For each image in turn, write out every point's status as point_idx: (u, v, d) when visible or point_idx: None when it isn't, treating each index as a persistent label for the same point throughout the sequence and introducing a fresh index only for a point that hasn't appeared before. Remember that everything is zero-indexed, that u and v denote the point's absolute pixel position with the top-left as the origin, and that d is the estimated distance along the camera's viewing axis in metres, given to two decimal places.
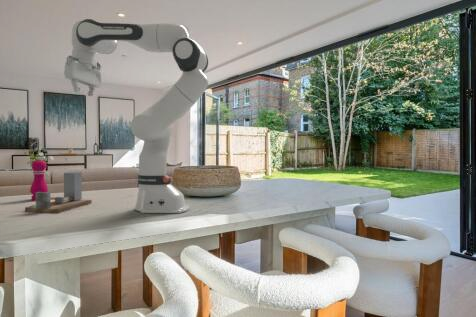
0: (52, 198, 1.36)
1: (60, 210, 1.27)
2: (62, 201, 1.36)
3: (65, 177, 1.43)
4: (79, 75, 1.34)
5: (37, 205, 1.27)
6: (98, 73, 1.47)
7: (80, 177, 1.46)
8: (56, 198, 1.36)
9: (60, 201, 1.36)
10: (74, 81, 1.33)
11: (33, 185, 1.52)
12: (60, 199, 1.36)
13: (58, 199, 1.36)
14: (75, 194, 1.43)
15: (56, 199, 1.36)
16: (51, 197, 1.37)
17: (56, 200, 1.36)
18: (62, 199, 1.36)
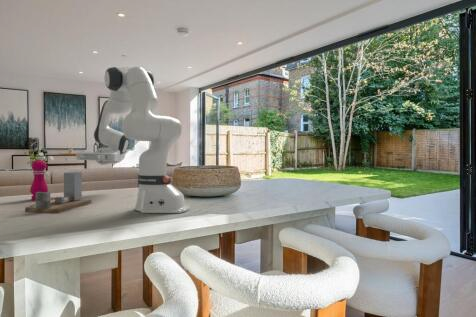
0: (52, 198, 1.36)
1: (60, 210, 1.27)
2: (62, 201, 1.36)
3: (65, 177, 1.43)
4: None
5: (37, 205, 1.27)
6: (114, 152, 1.66)
7: (80, 177, 1.46)
8: (56, 198, 1.36)
9: (60, 201, 1.36)
10: None
11: (33, 185, 1.52)
12: (60, 199, 1.36)
13: (58, 199, 1.36)
14: (75, 194, 1.43)
15: (56, 199, 1.36)
16: (51, 197, 1.37)
17: (56, 200, 1.36)
18: (62, 199, 1.36)
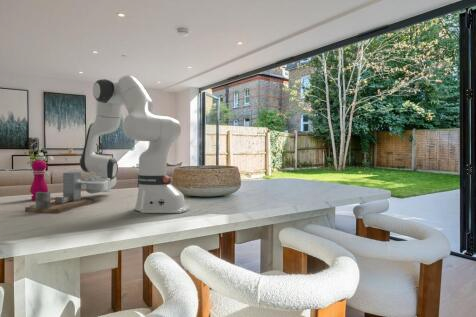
0: (52, 198, 1.36)
1: (60, 210, 1.27)
2: (62, 201, 1.36)
3: (64, 177, 1.42)
4: None
5: (37, 205, 1.27)
6: (104, 180, 1.56)
7: (79, 177, 1.46)
8: (56, 198, 1.36)
9: (60, 201, 1.36)
10: None
11: (33, 185, 1.52)
12: (60, 199, 1.36)
13: (58, 199, 1.36)
14: (75, 194, 1.43)
15: (56, 199, 1.36)
16: (51, 197, 1.37)
17: (56, 200, 1.36)
18: (62, 199, 1.36)
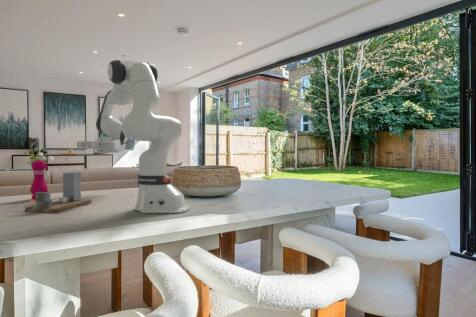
0: None
1: (60, 210, 1.27)
2: (50, 204, 1.29)
3: (64, 177, 1.42)
4: (86, 141, 1.63)
5: (37, 205, 1.27)
6: (114, 141, 1.66)
7: (79, 177, 1.46)
8: None
9: None
10: None
11: (33, 185, 1.52)
12: None
13: None
14: (75, 194, 1.43)
15: None
16: None
17: None
18: (50, 202, 1.29)
